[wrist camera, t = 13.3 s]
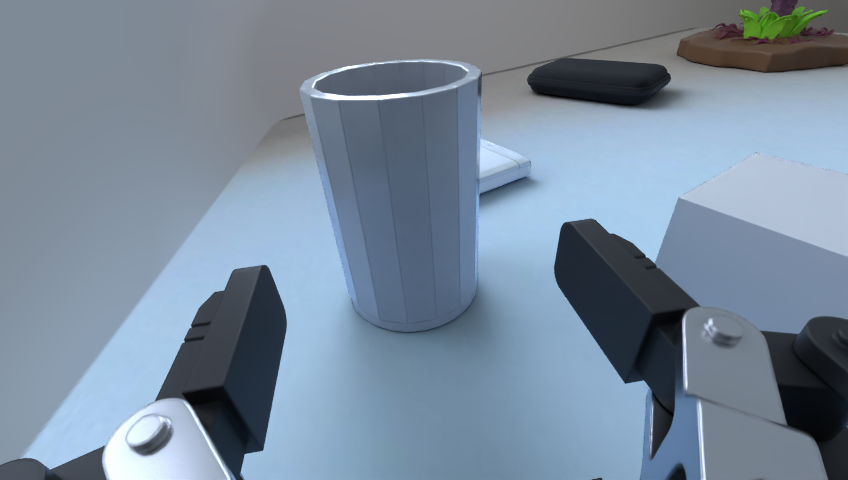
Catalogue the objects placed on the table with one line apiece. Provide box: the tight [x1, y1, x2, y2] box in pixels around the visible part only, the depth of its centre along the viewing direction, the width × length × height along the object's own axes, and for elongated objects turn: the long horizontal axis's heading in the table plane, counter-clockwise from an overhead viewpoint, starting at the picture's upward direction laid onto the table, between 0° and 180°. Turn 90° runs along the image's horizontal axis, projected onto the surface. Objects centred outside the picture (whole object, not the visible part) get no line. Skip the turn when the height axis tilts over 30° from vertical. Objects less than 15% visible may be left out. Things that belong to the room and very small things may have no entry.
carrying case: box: [527, 58, 671, 104], centre depth 46 cm, size 11×3×15 cm
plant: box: [677, 0, 848, 72], centre depth 53 cm, size 20×20×11 cm
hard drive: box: [479, 138, 531, 194], centre depth 28 cm, size 2×8×12 cm
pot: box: [299, 59, 482, 332], centre depth 16 cm, size 6×6×10 cm
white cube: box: [655, 152, 848, 334], centre depth 14 cm, size 6×6×6 cm
